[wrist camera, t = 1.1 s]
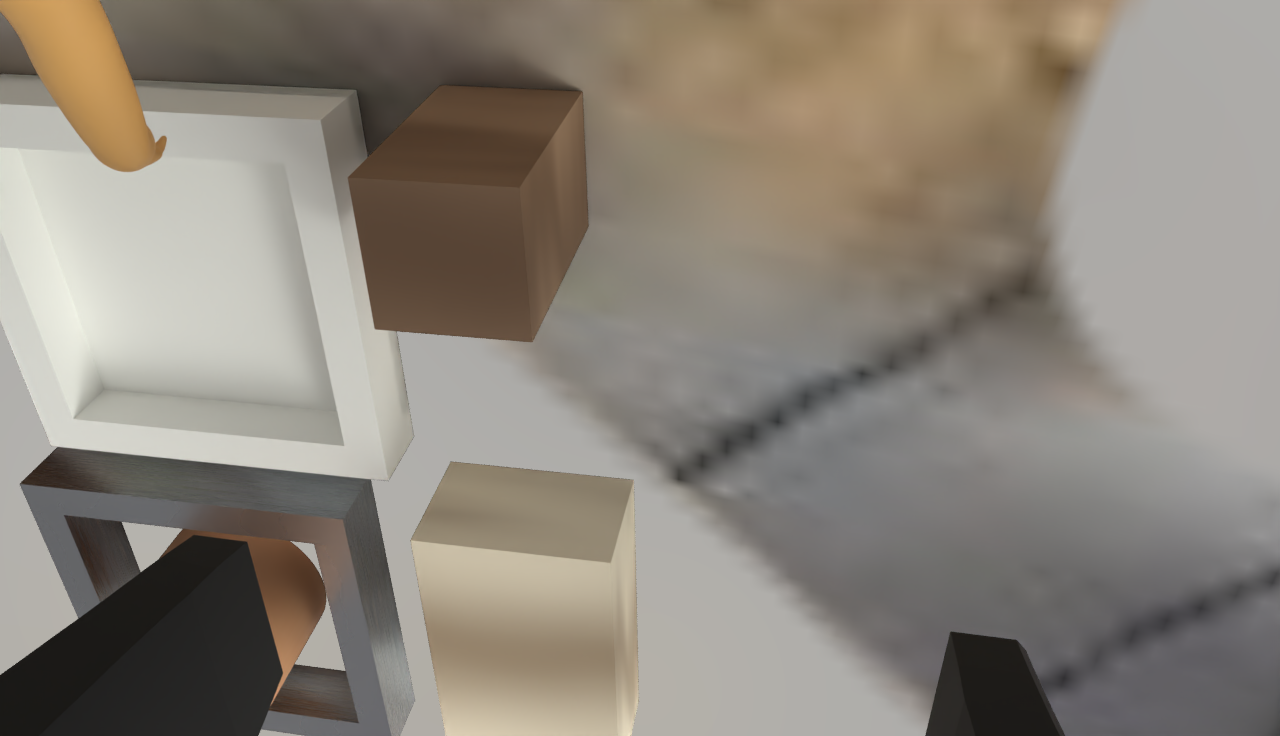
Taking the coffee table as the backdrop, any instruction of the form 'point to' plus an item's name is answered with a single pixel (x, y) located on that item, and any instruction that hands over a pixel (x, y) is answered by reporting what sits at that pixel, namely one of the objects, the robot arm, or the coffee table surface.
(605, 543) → the cream rectangular block
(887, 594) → the coffee table surface
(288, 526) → the socket
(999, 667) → the robot arm
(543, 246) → the brown rectangular block
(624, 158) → the coffee table surface
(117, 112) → the figurine
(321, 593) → the dowel
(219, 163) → the tray
